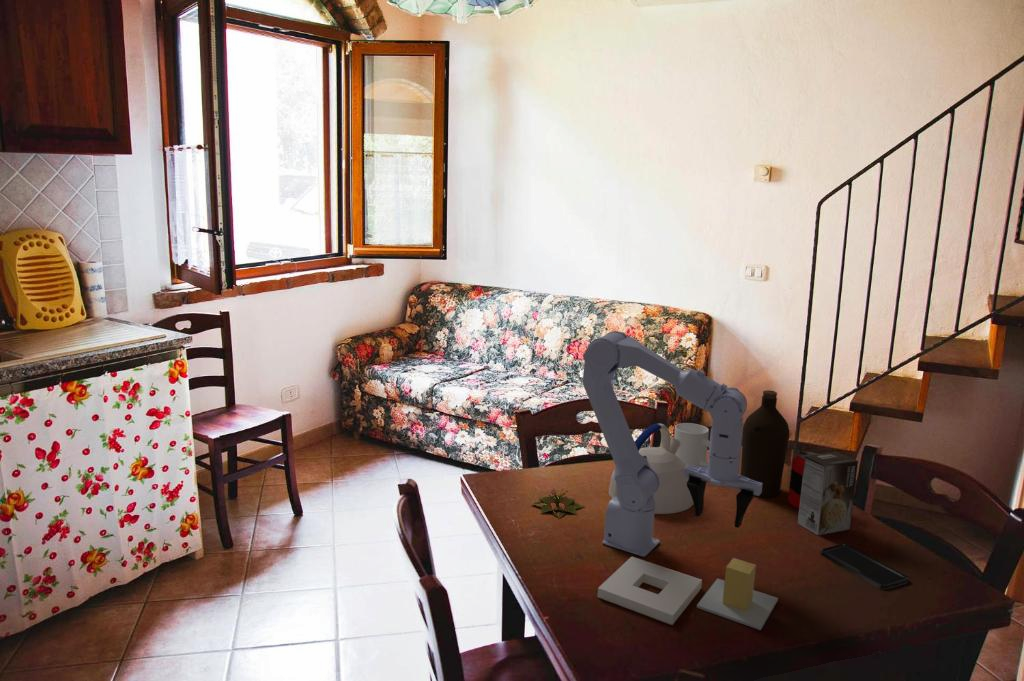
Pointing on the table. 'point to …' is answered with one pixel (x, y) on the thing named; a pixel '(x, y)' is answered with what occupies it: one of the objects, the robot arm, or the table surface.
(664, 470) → the kettle
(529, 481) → the table surface
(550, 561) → the table surface
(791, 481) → the soda can
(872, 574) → the phone
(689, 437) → the mug
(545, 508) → the green leafy plant
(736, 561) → the block
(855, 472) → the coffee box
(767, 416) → the olive oil
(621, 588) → the pocket holder
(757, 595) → the mat
